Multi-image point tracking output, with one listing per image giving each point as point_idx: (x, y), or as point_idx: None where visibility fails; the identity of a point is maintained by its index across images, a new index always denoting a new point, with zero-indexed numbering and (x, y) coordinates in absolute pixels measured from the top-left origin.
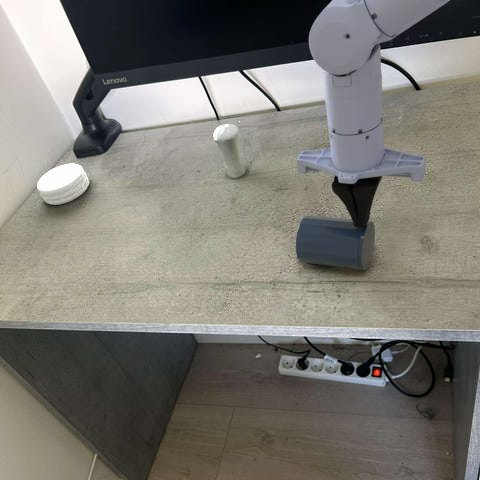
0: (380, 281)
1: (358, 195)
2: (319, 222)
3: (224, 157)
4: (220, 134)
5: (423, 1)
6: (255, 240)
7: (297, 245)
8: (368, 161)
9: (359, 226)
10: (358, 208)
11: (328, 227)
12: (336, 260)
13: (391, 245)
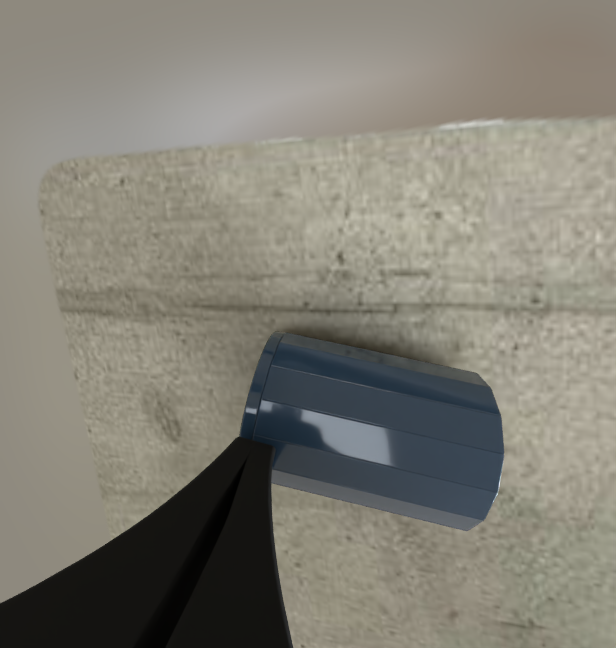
0: (244, 310)
1: (92, 642)
2: (415, 488)
3: None
4: None
5: None
6: (596, 473)
7: (490, 402)
8: None
9: (253, 443)
10: (201, 519)
11: (378, 460)
12: (348, 348)
13: (236, 421)
